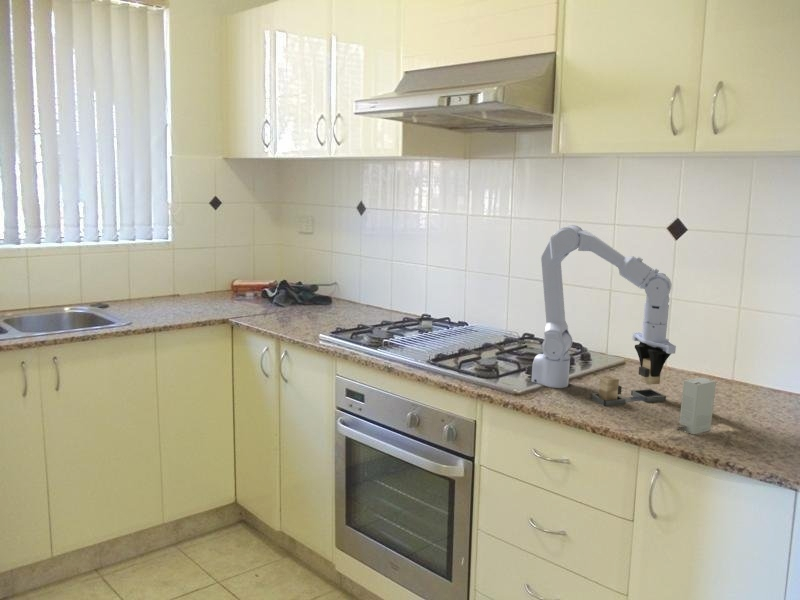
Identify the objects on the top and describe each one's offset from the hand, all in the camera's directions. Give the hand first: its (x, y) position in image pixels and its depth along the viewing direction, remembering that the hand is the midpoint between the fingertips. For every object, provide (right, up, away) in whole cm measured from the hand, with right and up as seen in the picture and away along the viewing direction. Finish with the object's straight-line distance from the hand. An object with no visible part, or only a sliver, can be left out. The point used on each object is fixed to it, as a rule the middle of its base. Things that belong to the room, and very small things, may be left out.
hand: (650, 374), depth 180 cm
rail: (-6, -8, 0) cm, 10 cm away
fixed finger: (-12, -7, -2) cm, 14 cm away
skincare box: (+4, -11, -17) cm, 21 cm away
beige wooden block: (0, -2, 0) cm, 2 cm away
